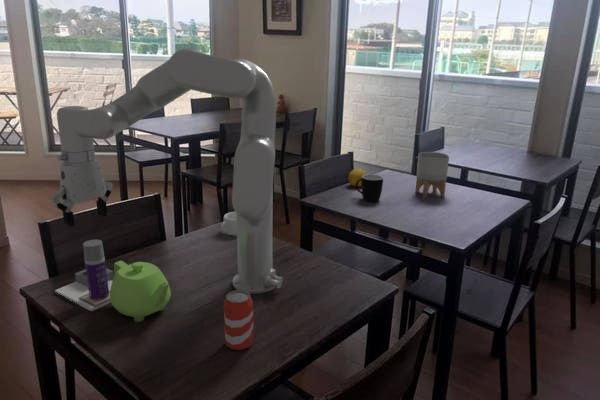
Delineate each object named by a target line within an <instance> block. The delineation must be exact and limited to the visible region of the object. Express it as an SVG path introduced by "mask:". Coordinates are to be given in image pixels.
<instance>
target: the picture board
mask: <svg viewBox="0 0 600 400" xmlns="http://www.w3.org/2000/svg"><path fill="white" fill-rule="evenodd" d="M106 273H107V281H108V289H109V297H108V298H106V299H104V300H101V301H92V300H91V299H90V296H89V289H88V282H87V274H86V268H84V269H83V270H81V271H78V272H75V273H74V277H75V281H74V282H72V283H69V284H67V285H65V286H62V287H59V288H57V289H55V290H54V293H55V292H57V293H58V294H57V293H56V294H57V295H59V294H60V295H62V296H64V297H65V298H64V297H63V298H64V299H66V298H67V299H66V300H68V299H69V300H68V301H70V302H72V301H73V302H72V303H74V302H75V303H74V304H76V303H77V304H76V305H78V304H79V305H78V306H80V307H82V308H84V309H86V310H88V311H90V312H91V311H92V312H95V310H98V309H101V308H102V307H104V306H107V305H108V304H111V301H110V289H111V285H112V282H113V280H114V270H111V269H109V268H107V267H106ZM60 295H59V296H60ZM62 296H61V297H62Z"/></svg>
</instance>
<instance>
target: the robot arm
mask: <svg viewBox="0 0 600 400" xmlns="http://www.w3.org/2000/svg"><path fill="white" fill-rule="evenodd" d="M274 88H275V87H274V85H273V83H272V81H271V79H270V77H269V76H268V75H267V73H266V72H265V71H264V70H263V68H261V67H260V66H258V65H257V64H255V63H254V62H252V61H250V60H248V59H246V58H237V59H236V58H234V59H231V58H225V57H220V56H216V55H210V54H206V53H204V52H203V51H202V50H200V49H197V48H195V47H194V48H193V47H191V48H189V47H188V48H182V49H179V50H177V51H175V52H174V53H173V54H171V56H170V58H169V59H168V60H166V61H165V62H163V63H162V64H160V65H158V66H157V67H155V68H154V69H152V70H151V71H149V72H147V73H146V74H144V75H143V76H141V77H140V78H139V79H138V80H137V83H136V84H135V85H134V87H131V88H130V90H127V91H126V92H125V93H124V94H122V95H121V96H119V97H118V98H116V99H114V100H112V101H111V102H109V103H107V104H105V105H101V106H99V107H95V108H91V109H89V108H87V107H86V106H82V105H81V106H79V105H72V106H64V107H63V106H62V107H60V108H58V109H57V112H56V117H57V118H56V119H57V127H58V134H59V143H60V150H61V151H60V155H57V160H58V161H59V162H60V172H59V185H60V187H59V189H58V190H57V191H55V193H54V194H52V195H51V196H50V198H49V200H50V202H52V205H54V207H56V209H59V210H60V211H62V217H63V223H64V224H65V225H66V226H69V227H71V228H72V227H75V225H76V224H75V217H74V216H75V215H74V212H73V211H72V210H73V209H72V208H73V207H74V205H77V204H82V203H85V202H88V201H92V200H96V199H97V200H96V213H97V215H99V216H102V217H107V216H108V213H107V211H108V209H107V207H108V206H107V202H108V201H109V199H108V198H109V197H110V195H111V193H112V190H113V187H114V182H111V181H108V180H105V178H104V173H103V170H102V169H103V168H102V166H101V163H100V161H99V158H96V153H95V145H94V139H97V140H108V139H110V138H113V137H114V136H116V135H117V134H119V133H121V132H123V131H125V130H126V129H128V128H129V127H131V126H133V125H134V124H136V123H137V122H138V121H140V120H142V119H144V118H145V117H147V116H149V115H150V114H152V113H153V112H156V111H159V110H161V109H162V108H164V107H165V106H167V105H169V104H170V103H172V102H174V101H175V100H177V99H178V98H180V97H181V96H183V95H185V94H187V93H188V92H190V91H191V90H192V91H195V92H199V93H204V94H209V95H213V96H218V97H222V98H228V99H241V102H242V103H241V105H242V107H241V110H242V111H241V125H240V126H241V128H240V139H239V143H238V145H237V148H236V150H235V153H234V160H233V177H232V194H231V195H232V196H231V202H232V207H233V210H234V212H236V213H237V236H236V250H237V251H236V252H237V274H236V275H234V276H233V278H232V286H233V288H234V289H235V290H244V291H246V292H248V293H249V294H250V295H251V294H252V295H257V294H264V293H267V292H270V291H273V290H274V289H275V288H276V289H280V288H281V287H282V284H283V283H282V282H283V280H284V278H283V277H282V276H278V275H277V272H276V271H277V270H276V268H273V266H274V265H273V228H274V227H273V210H274V209H273V206H274V204H273V203H274V201H273V199H274V197H273V196H274V189H273V185H274V175H275V173H274V172H275V160H276V147H275V143H276V142H275V141H276V136H275V135H276V127H277V126H276V125H277V123H276V122H277V121H276V120H277V118H276V117H277V97H276V91H275V89H274ZM61 161H62V163H61ZM60 199H62V200H63V201H62V202H61V201H60Z"/></svg>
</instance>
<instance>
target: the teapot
mask: <svg viewBox="0 0 600 400" xmlns="http://www.w3.org/2000/svg"><path fill="white" fill-rule="evenodd" d="M113 274H114V279H112V281H113V282H112V285H111V289H110V301H111V303H110V304H111V305H112V306H113V308H114V309H115V310H116V311H118V313H119V314H122V315H125V316H128V317H131V318H133V321H134V322H136V323H137V322H139V323H140V322H143V321H144V320H146V319H145V318H146V317H147V316H150V315H152V314H154V313H156V312H160V311H164V310H165V309H166V306H167V304H168V303H169V301H170V300H171V296H172V293H171V292H172V291H171V287H170V284H169V282H168V280H167V279H166V277H165V275H164V274H163V272H162V271H161V269H160V268H159V267H158V266H156V265H155V264H152V263H150V262H145V261H144V262H143V261H137V262H132V263H130V264H127V263H126V262H124V261H123V260H119V261H116V262H114V264H113Z"/></svg>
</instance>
